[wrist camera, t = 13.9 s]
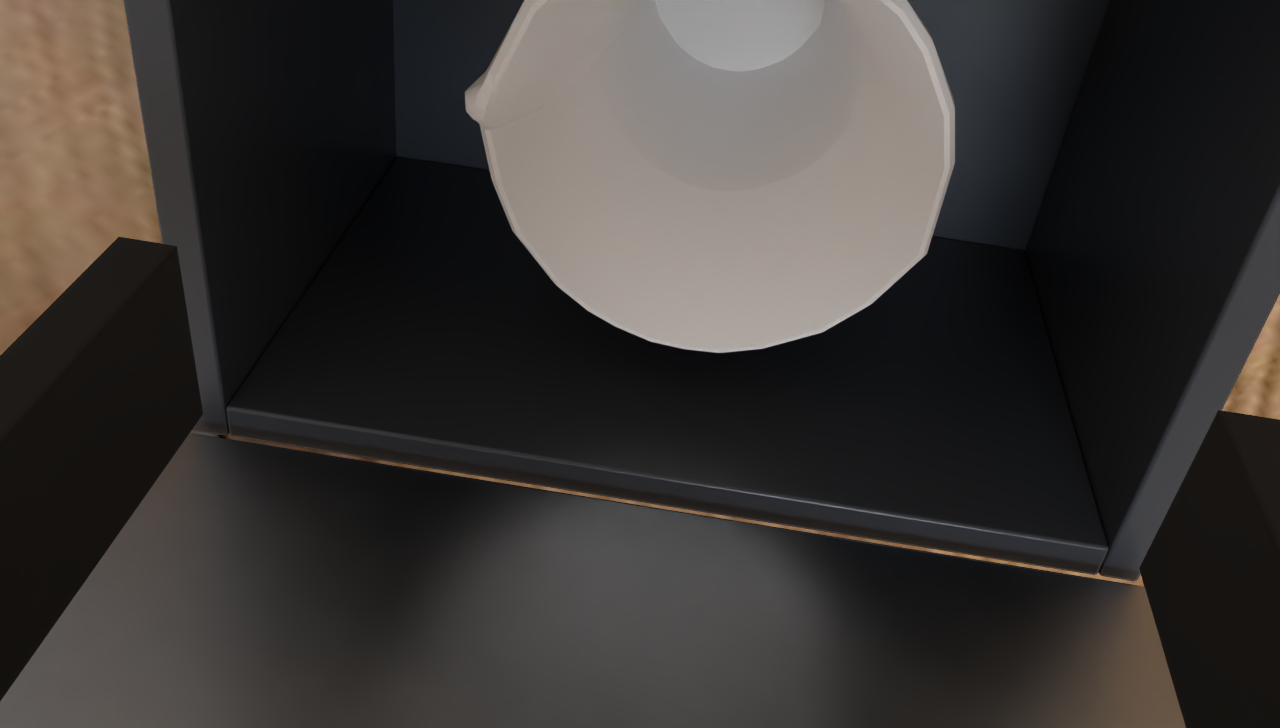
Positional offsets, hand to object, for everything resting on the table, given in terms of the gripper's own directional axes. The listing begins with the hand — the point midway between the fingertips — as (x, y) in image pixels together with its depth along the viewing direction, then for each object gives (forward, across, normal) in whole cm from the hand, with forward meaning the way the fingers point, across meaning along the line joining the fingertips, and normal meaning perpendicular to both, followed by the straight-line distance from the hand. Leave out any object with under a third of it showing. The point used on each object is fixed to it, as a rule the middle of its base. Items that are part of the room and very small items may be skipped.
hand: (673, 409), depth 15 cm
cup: (+18, 0, 0) cm, 18 cm away
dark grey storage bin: (+19, 0, 0) cm, 19 cm away
